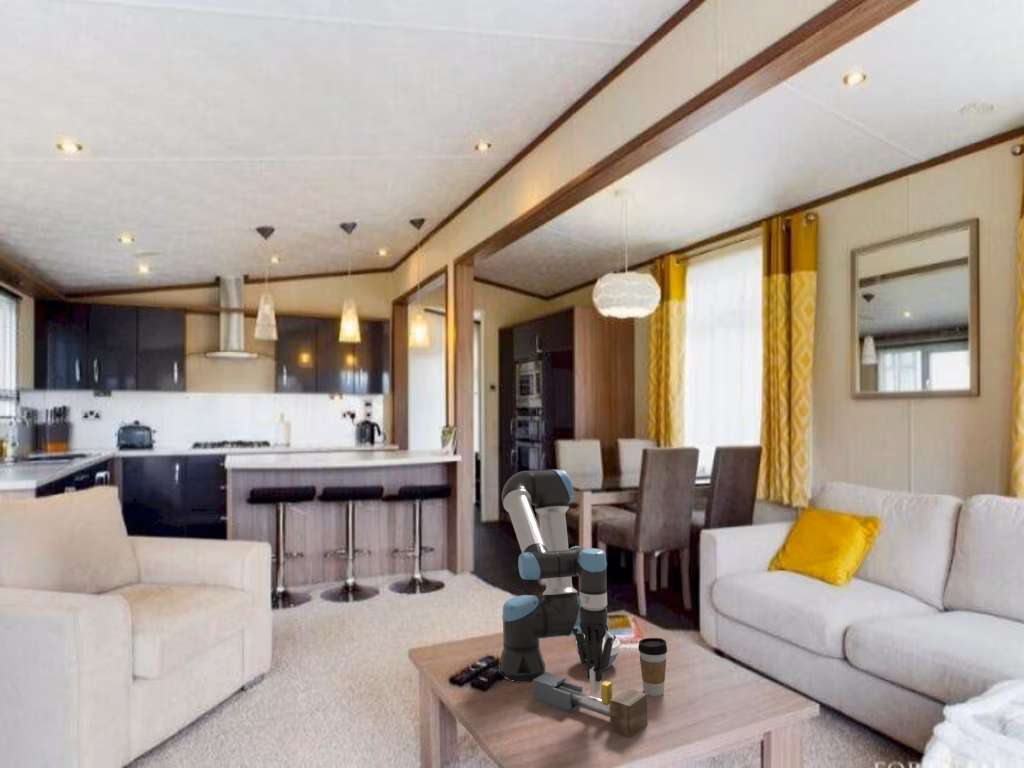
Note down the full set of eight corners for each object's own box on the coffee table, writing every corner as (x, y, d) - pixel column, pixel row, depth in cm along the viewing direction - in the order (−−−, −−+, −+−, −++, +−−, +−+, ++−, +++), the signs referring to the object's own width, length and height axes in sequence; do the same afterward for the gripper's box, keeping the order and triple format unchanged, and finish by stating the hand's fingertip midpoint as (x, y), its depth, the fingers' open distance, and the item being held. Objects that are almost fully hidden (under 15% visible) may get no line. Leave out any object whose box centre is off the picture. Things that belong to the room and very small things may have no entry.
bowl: (629, 664, 217) (628, 640, 217) (602, 677, 206) (602, 653, 207) (593, 652, 227) (593, 630, 227) (566, 665, 217) (566, 642, 217)
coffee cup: (668, 699, 191) (667, 647, 191) (639, 697, 192) (637, 645, 193) (667, 686, 199) (666, 636, 199) (639, 684, 201) (638, 635, 201)
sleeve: (533, 700, 192) (533, 679, 192) (547, 692, 197) (546, 672, 197) (569, 713, 183) (569, 691, 184) (582, 704, 188) (582, 683, 189)
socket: (610, 730, 173) (609, 699, 174) (627, 717, 180) (627, 687, 181) (630, 737, 170) (629, 706, 170) (647, 724, 176) (646, 693, 177)
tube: (555, 702, 188) (554, 671, 188) (563, 697, 191) (562, 666, 191) (622, 725, 174) (621, 691, 174) (630, 719, 177) (629, 686, 177)
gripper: (566, 605, 184) (567, 690, 184) (606, 614, 176) (608, 703, 175) (581, 598, 190) (582, 680, 189) (620, 607, 181) (622, 693, 181)
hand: (594, 691), depth 182 cm, fingers closed
